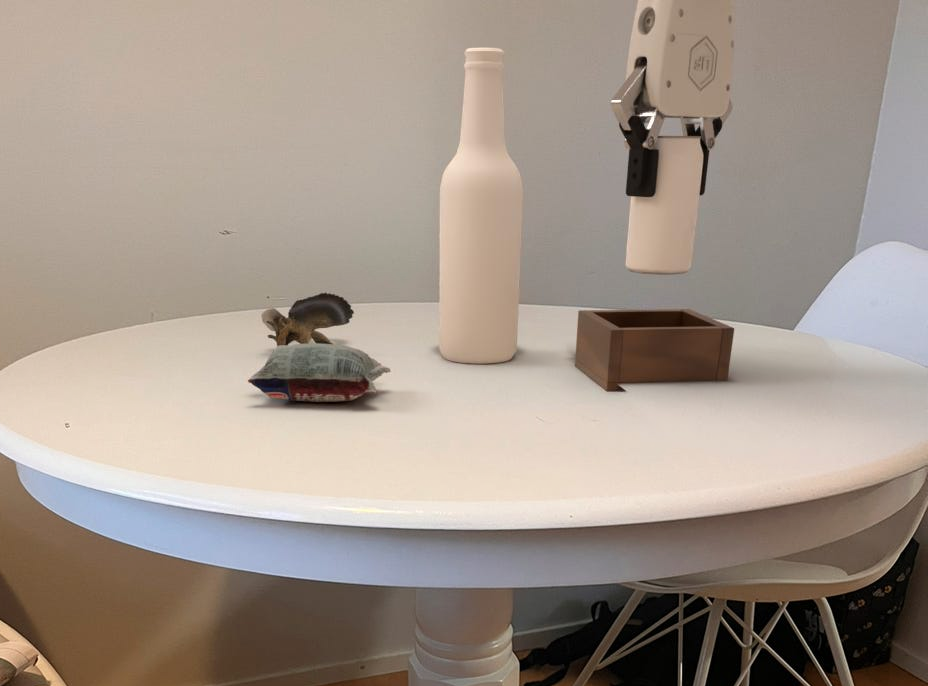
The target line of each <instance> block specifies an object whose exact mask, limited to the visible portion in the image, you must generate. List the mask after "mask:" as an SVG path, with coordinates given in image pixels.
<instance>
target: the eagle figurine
mask: <svg viewBox="0 0 928 686" xmlns="http://www.w3.org/2000/svg"><path fill="white" fill-rule="evenodd" d="M287 314H288V317H287V316H285V315H283V314H282V313H280V311H278V310H277V309H276V308H275V307H272V308H268V309H266V310H264V311H263V312H261V315H260V317H261V320H262V323H263V324H264V325H265V326H266V328H268V329H269V330H270V331H272V332H274V333H275V335H273V334H268V335H267V338H268V339H272V340H274V341H275V342H276V347H277V346H278V345H290V344H291V343H293V342H297V343H298V344H307V343H319V344H334V343H333V342H332V341H330V339H329V338H328V337H327V336H326V335H325V334H323V333H322V332H321V331H318V330H319V329H328V328H331V327H332V328H333V327H341V326H345V325H348V324H349V323H350V319H352V318H353V317H354V316H353V315H354V314H355V311H354V310H353V309H352V305H351V304H350V303H349V302H348V300H346V299H345V298H344V297H343V296H339V295H337V294H335V293H330V292H329V293H328V292H321V293H319V294H315V295H313V296H308V297H307V298H303V299H297V300H295V301H294V303H293V304H292V306H291V307H290V309H289V310H288V313H287Z"/></svg>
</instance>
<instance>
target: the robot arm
mask: <svg viewBox="0 0 928 686" xmlns="http://www.w3.org/2000/svg"><path fill="white" fill-rule="evenodd" d="M734 3H735V2H734V0H638V1H637V4H636V8H635V13H634V17H633V24H632V30H631V33H630V34H631V35H630V42H629V48H628V54H627V56H628V57H627V62H626V63H627V64H626V72H625V73H626V74H625V81H624V83H623V84H622V85H621V87H620V88H619V89H618V91H617V92H616V93H615V95H614V96H613V97H612V99H611V100H610V107H611V109H612V112H613V114H614V116H615V118H616V120H617V122H618V125H619V126H618V127H619V130H620V131H621V133H622V135H623V137H624V147H625V149H627V150H628V159H627V173H626V185H625V195H626V196H627V197H631V196H635V197H653V196H654V194H655V190H656V180H657V169H658V159H659V150H658V149H653V147H654V146H655V143H656V140H657V138H658V136H660V132H661V130H662V127H663V123H664V121H665V118H666V119H667V118H668V119H680V123H681V129H682V136H701V138H700V145H701V148H702V151H703V167H702V176H701V185H700V194H699V196H704V194H705V192H706V186H707V185H706V184H707V175H708V167H709V159H710V151H711V150H713V149H714V147H715V145H716V138H717V137H718V135H719V134H720V132H721V131H722V129H723V125H724V124H725V122H726V121H727V119H728V118H729V116H730V114H731V113H732V111H733V103H732V101H731V99H730V97H731V89H732V79H733V67H734V52H735V51H734V50H735V7H734V6H735V5H734ZM645 124H647V127H646V126H645ZM696 124H697V125H699V126H698V127H697V129H696V126H695V125H696Z"/></svg>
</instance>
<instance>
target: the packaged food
mask: <svg viewBox="0 0 928 686" xmlns="http://www.w3.org/2000/svg"><path fill="white" fill-rule="evenodd" d="M388 373H391V369H390V367H387V366H384V365H382V363H380V362H378V360H376V359H375V358H372V357H370V356H369V355H368V353H366V352H365V351H363V350H361V349H358V348H355V347H351V346H348V345H343V344H335V343H333V344H319V343H307V344H300V343H296V344H288V345H278V346H277V345H276V347H275V349H274V350H273V351H272V353H271V354H270V356H269V357H268V359H267V360H266V362H265V364H264V365H263V366H262V367H261V368H260V369H259V370H258V371H256V372H255V373H254V374H253V375H252V376H251V377H250V378H249V379H248V380H247V382H248V384H251V385H252V386H253V387H255V388H257V389H259V390H260V391H261V392H262V393H263V394H265V395H266V396H268V397H269V398H271V399H275V400H284V401H293V402H294V401H295V402H296V401H297V402H307V403H308V402H310V403H330V402H331V403H332V402H333V403H334V402H335V403H336V402H351V401H354V400H357V399H358V398H359V397H361V396H363V395H364V394H365V393H366V392H367V391H370V392H373V393H375V394H377V393H378V390H377V388H376V386H375V384H374V381H375V380H377V379H378V378H380V377H382V376H383V374H388Z"/></svg>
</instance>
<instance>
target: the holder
mask: <svg viewBox="0 0 928 686" xmlns="http://www.w3.org/2000/svg"><path fill="white" fill-rule="evenodd" d="M734 335H735V327H733V326H730V325H728V324H726V323H723V322H721V321H718V320H716V319H713V318H711V317H709V316H707V315H704V314H701V313H699V312H697V311H695V310H692V309H689V308H680V309H678V308H673V309H672V308H669V309H668V308H666V309H661V308H660V309H659V308H657V309H596V310H595V309H593V310H592V309H591V310H588V309H587V310H585V309H584V310H580V309H579V310H578V311H577V327H576V340H575V341H576V342H575V356H574V357H575V358H574V366H575V368H578V370H580V371H581V372H582V373H583V374H585V375H586V376H587V377H589V378H590V379H591V380H592V381H594V383H596V384H597V385H599V386H600V387H601V388H602V389H604V390H605V391H606V392H614V391H615V392H619V391H622V392H623V391H626V389H624V387H622V386H621V385H619V384H655V383H656V384H657V383H659V384H661V383H662V384H663V383H698V382H699V383H702V382H707V383H708V382H728V378H729V372H730V371H729V370H730V365H731V356H732V350H733V342H734Z"/></svg>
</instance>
